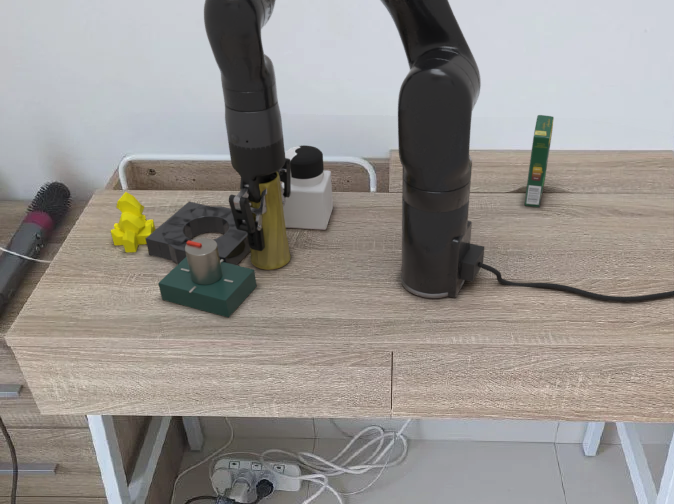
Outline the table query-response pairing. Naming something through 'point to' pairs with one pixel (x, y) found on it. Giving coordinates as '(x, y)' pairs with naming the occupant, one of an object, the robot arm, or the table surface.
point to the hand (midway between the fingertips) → (267, 237)
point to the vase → (272, 230)
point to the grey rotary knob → (203, 261)
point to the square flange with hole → (197, 221)
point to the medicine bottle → (308, 190)
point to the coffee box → (539, 160)
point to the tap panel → (209, 288)
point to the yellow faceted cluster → (131, 224)
